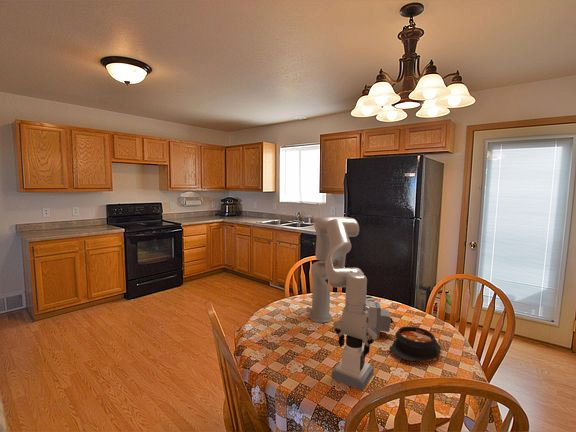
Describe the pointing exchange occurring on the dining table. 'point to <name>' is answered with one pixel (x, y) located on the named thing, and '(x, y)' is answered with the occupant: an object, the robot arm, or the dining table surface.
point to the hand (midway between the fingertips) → (353, 349)
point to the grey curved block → (370, 298)
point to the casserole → (415, 344)
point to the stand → (353, 375)
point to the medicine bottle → (353, 354)
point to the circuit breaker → (378, 318)
